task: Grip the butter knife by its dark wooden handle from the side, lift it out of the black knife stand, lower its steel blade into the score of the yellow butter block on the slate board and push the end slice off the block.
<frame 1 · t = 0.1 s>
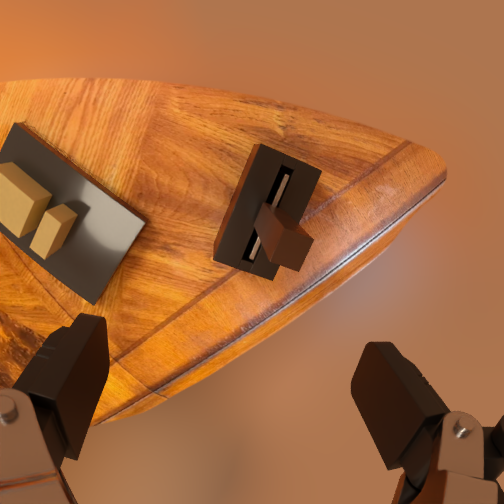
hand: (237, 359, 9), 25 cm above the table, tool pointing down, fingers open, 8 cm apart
board: (53, 211, 31), on the table
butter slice: (61, 225, 30), point 1 cm above the table, touching board
knife stand: (260, 205, 33), on the table
knife: (271, 221, 26), in the knife stand
butter block: (23, 194, 28), point 1 cm above the table, touching board
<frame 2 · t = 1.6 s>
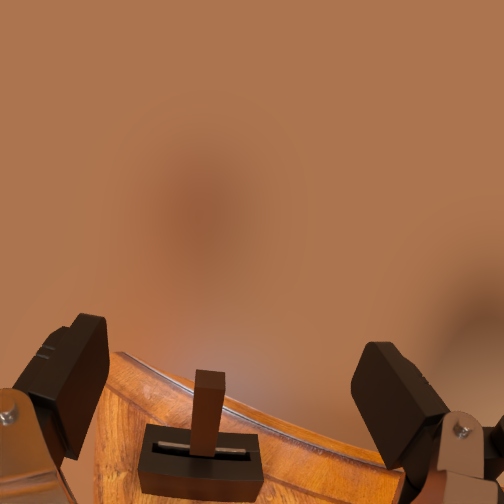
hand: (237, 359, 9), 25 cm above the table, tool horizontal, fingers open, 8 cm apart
knife stand: (198, 477, 27), on the table
knife: (203, 438, 24), in the knife stand
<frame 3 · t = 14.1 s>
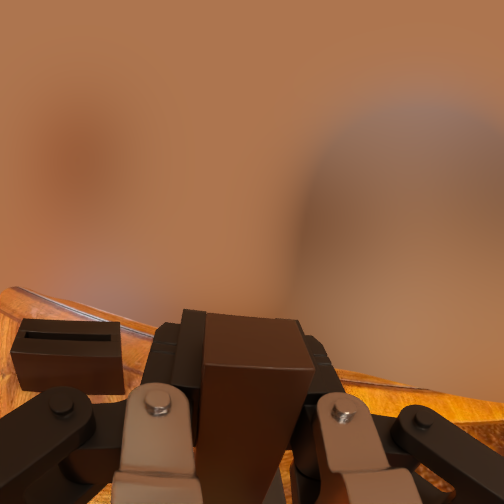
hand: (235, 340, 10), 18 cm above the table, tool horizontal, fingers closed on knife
knife stand: (73, 374, 28), on the table
knife: (222, 498, 9), point 12 cm above the table, touching gripper
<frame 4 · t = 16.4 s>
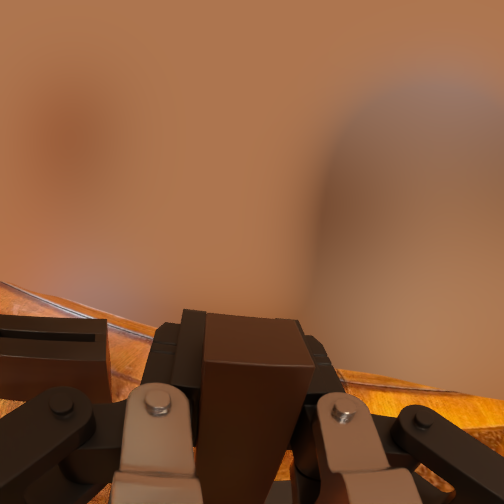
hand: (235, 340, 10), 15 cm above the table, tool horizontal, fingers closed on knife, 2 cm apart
knife stand: (53, 380, 23), on the table
knife: (222, 502, 9), point 9 cm above the table, touching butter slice, gripper
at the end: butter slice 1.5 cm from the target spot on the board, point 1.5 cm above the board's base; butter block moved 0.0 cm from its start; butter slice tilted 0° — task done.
